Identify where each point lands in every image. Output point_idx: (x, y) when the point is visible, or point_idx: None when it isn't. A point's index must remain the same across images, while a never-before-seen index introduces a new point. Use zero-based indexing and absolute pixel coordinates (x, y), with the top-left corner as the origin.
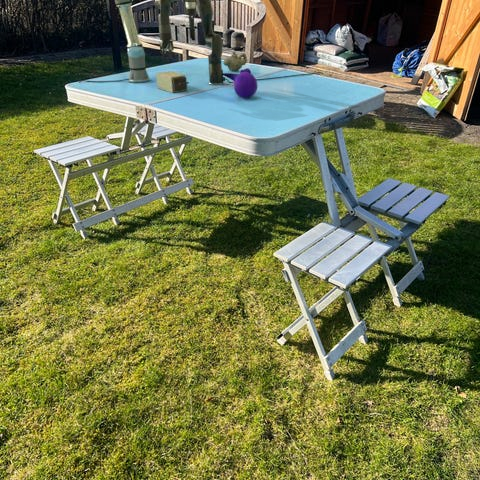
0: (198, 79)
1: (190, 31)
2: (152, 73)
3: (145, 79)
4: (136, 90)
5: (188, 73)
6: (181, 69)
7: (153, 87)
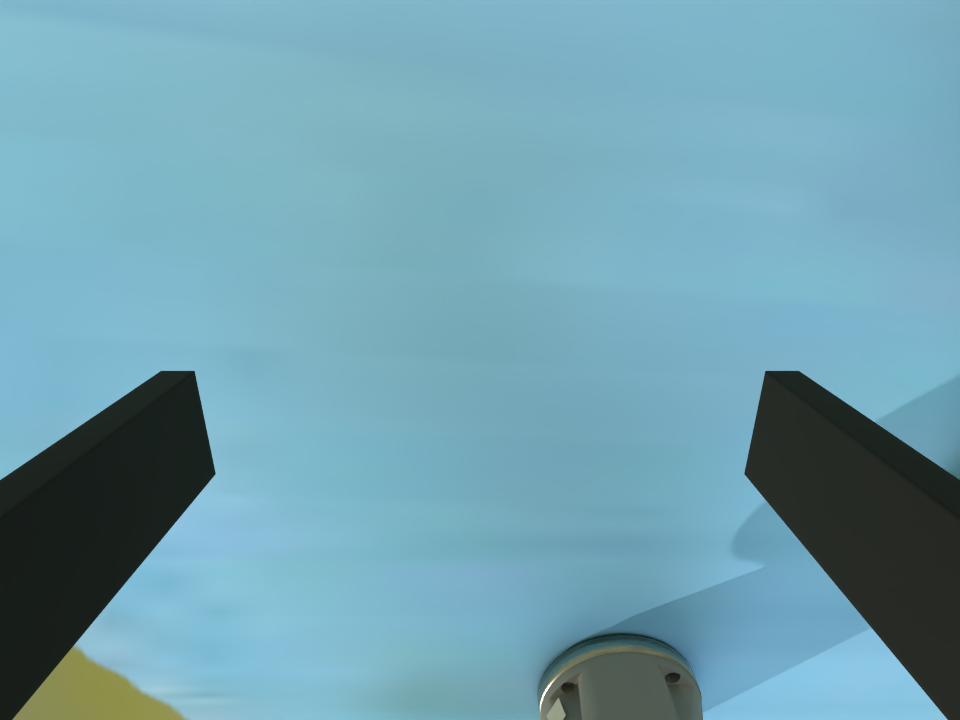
0: (756, 228)
1: (58, 625)
2: (300, 613)
3: (688, 673)
4: None
5: (364, 308)
6: (100, 366)
7: None
